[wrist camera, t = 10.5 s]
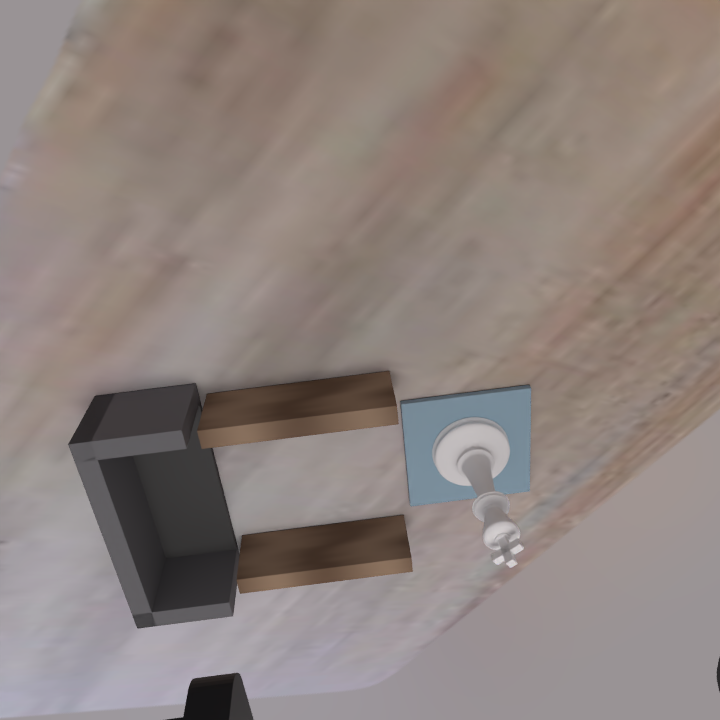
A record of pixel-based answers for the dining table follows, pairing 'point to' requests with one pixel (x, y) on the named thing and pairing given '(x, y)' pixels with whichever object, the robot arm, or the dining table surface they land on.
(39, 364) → the dining table surface
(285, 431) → the wooden blocks
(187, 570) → the grey channel bracket
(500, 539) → the chess piece
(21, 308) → the dining table surface
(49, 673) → the dining table surface
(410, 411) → the pad
